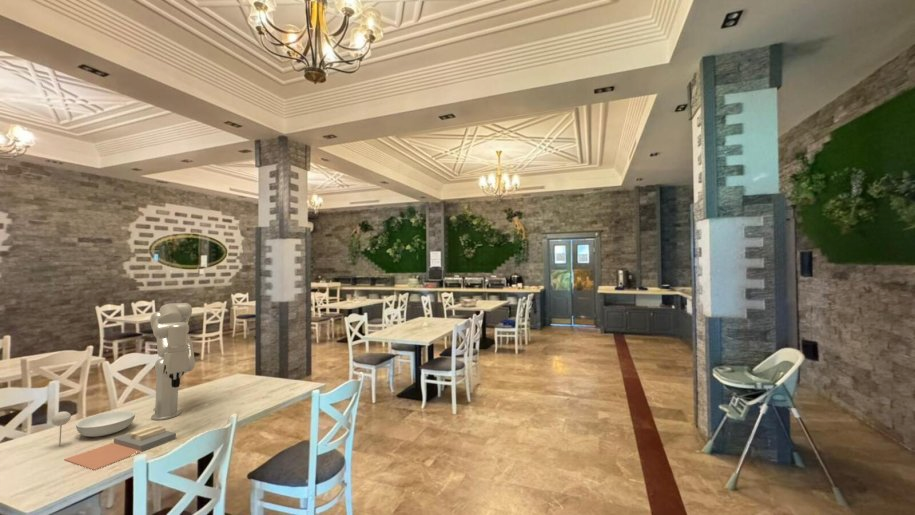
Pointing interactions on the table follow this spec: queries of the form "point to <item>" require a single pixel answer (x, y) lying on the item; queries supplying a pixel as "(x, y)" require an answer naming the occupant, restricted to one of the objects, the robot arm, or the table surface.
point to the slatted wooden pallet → (147, 432)
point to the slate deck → (145, 443)
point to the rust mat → (102, 456)
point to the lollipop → (61, 421)
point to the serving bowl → (105, 423)
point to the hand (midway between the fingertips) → (175, 386)
